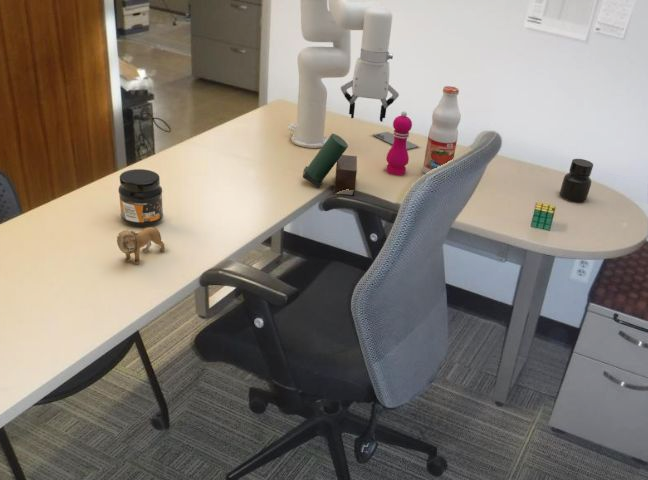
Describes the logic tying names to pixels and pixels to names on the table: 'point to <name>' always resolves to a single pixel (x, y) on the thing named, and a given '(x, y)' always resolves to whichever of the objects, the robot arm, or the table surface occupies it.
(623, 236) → the table surface
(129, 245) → the lion figurine
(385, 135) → the smartphone
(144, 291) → the table surface
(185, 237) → the table surface
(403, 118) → the pepper mill
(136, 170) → the supplement container
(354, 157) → the walnut block
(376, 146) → the table surface
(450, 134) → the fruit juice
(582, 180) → the ink bottle
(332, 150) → the green tube
